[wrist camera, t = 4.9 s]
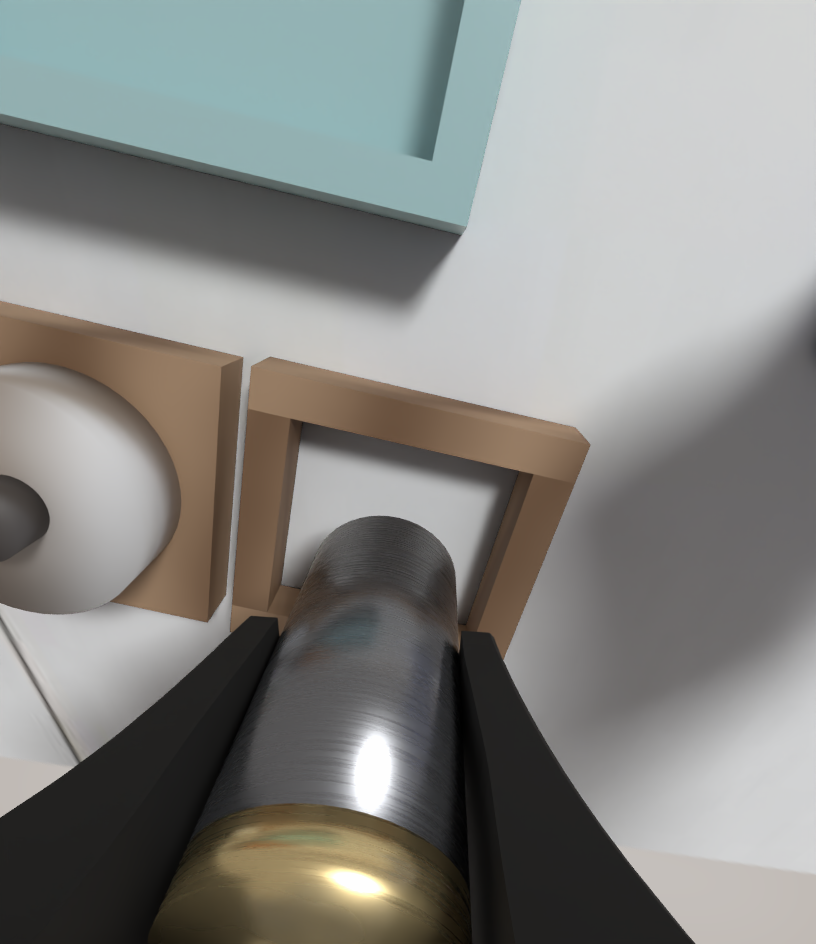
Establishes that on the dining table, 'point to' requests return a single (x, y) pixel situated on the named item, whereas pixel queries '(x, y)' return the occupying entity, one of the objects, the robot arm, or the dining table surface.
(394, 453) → the dining table surface
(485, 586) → the block
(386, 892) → the tin can
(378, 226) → the dining table surface
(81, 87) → the tray
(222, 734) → the robot arm
